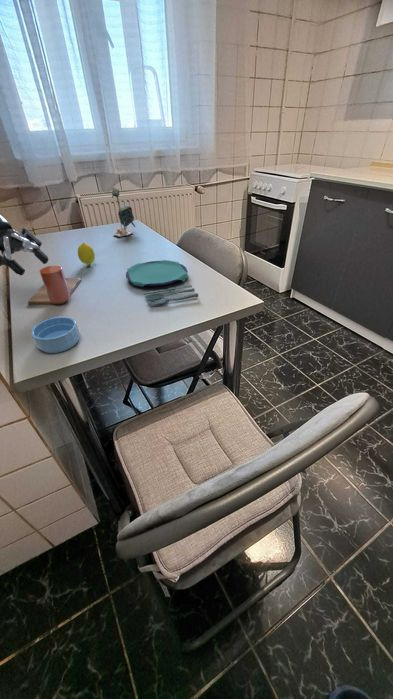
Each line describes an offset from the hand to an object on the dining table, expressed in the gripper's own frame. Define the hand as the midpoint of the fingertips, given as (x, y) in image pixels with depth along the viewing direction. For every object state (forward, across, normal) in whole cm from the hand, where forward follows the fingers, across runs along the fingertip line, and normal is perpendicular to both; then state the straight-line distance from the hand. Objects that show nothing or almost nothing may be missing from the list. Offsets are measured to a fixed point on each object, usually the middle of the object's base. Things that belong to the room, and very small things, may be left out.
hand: (35, 267), depth 79 cm
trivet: (+6, +5, +8) cm, 11 cm away
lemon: (+4, +26, +10) cm, 29 cm away
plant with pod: (-1, +65, +15) cm, 66 cm away
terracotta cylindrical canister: (+9, 0, +3) cm, 10 cm away
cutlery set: (+26, +20, -12) cm, 35 cm away
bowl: (+20, -16, -6) cm, 26 cm away
